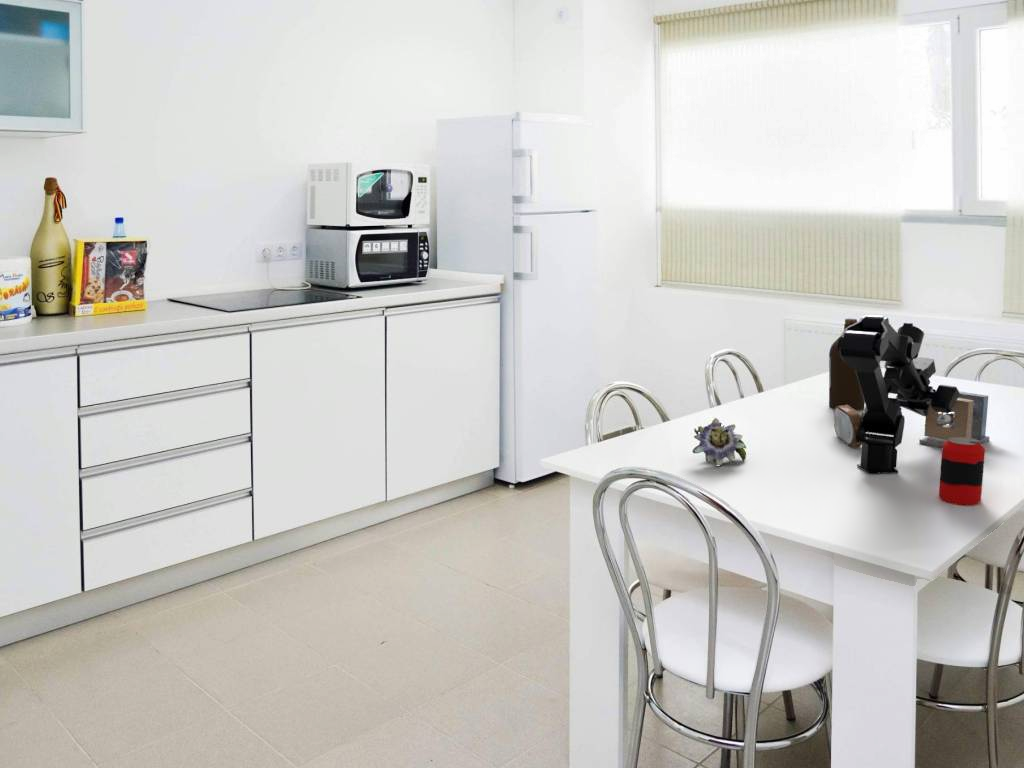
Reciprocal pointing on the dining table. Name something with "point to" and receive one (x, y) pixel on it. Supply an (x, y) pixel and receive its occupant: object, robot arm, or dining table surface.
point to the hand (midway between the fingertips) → (925, 414)
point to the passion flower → (719, 442)
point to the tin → (846, 424)
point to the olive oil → (843, 379)
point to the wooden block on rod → (961, 421)
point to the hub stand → (977, 420)
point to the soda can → (961, 471)
